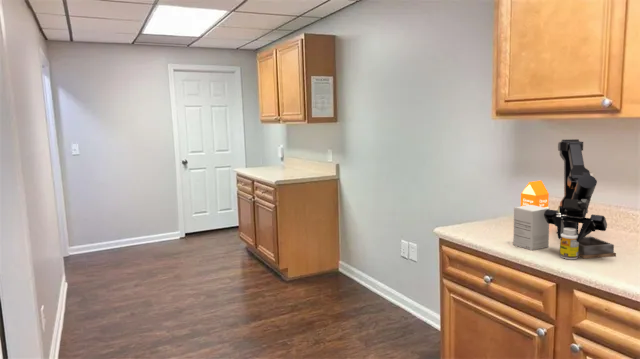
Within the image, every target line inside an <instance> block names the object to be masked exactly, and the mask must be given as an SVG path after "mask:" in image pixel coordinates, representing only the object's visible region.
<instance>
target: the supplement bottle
mask: <svg viewBox="0 0 640 359" xmlns="http://www.w3.org/2000/svg"><path fill="white" fill-rule="evenodd" d="M560 237H561V238H560V239H559V240H560V241H559V242H560V243H559V244H560V245H559V256H560V258H562V259H564V258H565V259H566V260H577V259H578V258H579V256H578V248H579V242H577V238H578V235H577V230H576V229H575V228H564V229H563V233H562V234H561V236H560Z"/></svg>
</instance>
